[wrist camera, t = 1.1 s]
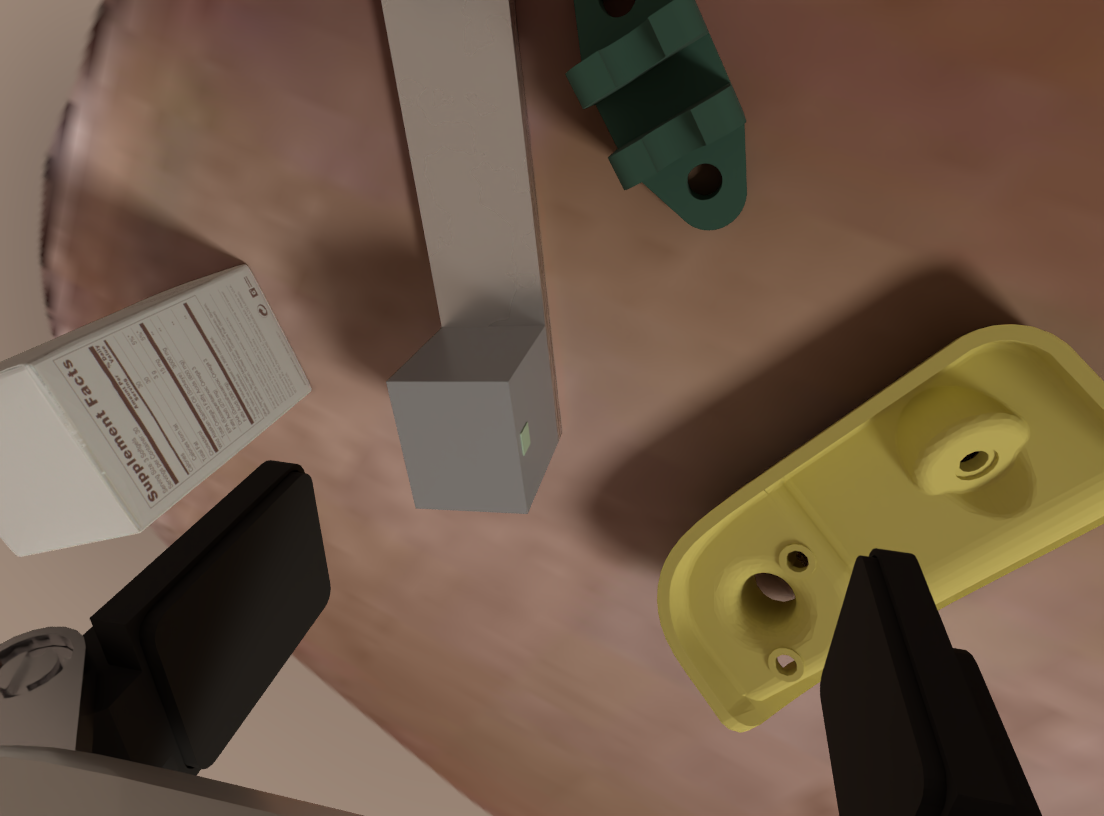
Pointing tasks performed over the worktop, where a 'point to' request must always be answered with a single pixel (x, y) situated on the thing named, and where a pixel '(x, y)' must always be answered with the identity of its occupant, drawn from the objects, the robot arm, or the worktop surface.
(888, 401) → the plastic component
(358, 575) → the worktop surface
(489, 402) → the block
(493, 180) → the rail
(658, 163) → the mount
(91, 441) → the supplement box
